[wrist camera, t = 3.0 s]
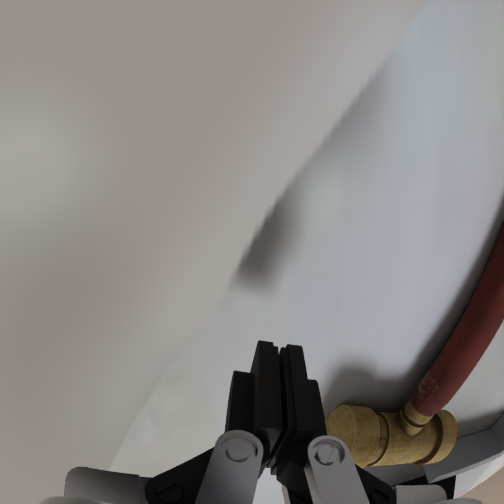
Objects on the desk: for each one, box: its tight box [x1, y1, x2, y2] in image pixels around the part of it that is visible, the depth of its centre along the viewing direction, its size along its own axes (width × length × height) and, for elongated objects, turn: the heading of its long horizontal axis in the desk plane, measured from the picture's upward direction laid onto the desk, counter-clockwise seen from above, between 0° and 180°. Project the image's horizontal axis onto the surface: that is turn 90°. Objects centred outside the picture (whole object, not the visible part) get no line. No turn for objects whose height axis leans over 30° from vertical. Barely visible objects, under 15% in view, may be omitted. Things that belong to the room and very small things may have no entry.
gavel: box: [325, 221, 504, 469], centre depth 12 cm, size 21×5×10 cm
